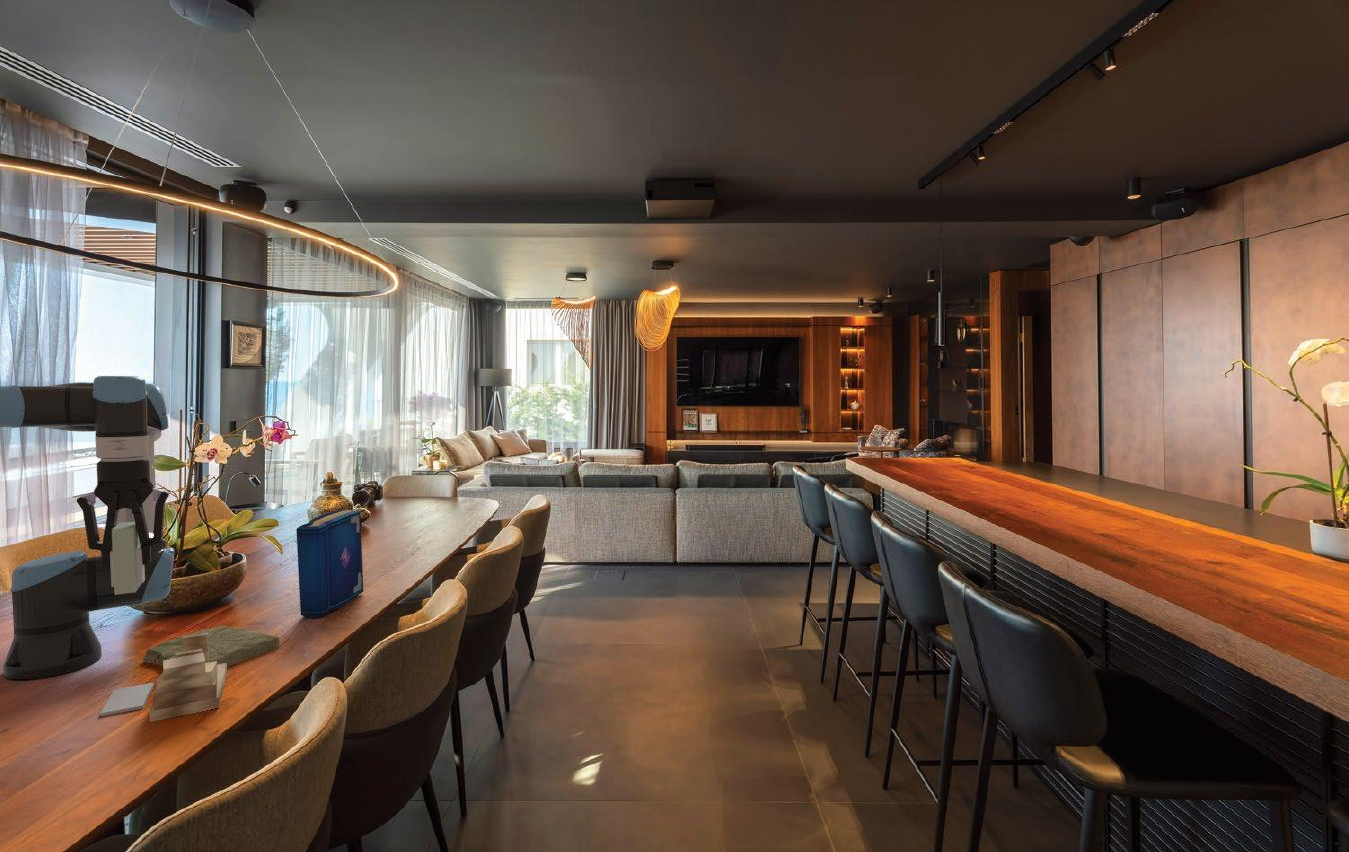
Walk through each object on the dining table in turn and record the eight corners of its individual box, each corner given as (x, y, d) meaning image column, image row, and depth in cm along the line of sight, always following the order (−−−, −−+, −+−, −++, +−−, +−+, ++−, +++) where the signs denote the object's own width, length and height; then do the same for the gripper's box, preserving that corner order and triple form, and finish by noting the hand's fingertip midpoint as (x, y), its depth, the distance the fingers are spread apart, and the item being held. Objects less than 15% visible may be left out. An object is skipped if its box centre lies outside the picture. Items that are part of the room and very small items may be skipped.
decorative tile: (222, 636, 157) (222, 622, 157) (281, 648, 149) (280, 633, 149) (134, 666, 140) (133, 650, 139) (195, 681, 132) (194, 664, 132)
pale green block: (114, 594, 119) (111, 529, 118) (121, 584, 125) (119, 522, 124) (135, 592, 120) (133, 527, 120) (142, 582, 126) (139, 521, 126)
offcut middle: (157, 693, 116) (157, 679, 116) (165, 682, 120) (165, 668, 120) (212, 684, 119) (211, 671, 119) (217, 674, 124) (217, 661, 124)
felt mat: (100, 716, 117) (100, 713, 117) (114, 692, 126) (114, 689, 126) (143, 708, 120) (143, 705, 120) (153, 685, 129) (153, 682, 129)
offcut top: (163, 680, 115) (163, 669, 115) (163, 671, 119) (163, 660, 119) (205, 671, 119) (205, 660, 119) (203, 662, 123) (203, 652, 123)
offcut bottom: (153, 710, 115) (153, 696, 115) (157, 697, 120) (157, 684, 120) (216, 697, 120) (215, 684, 120) (217, 685, 125) (216, 672, 125)
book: (322, 620, 167) (319, 523, 165) (295, 620, 167) (292, 523, 165) (364, 594, 188) (362, 508, 187) (340, 594, 188) (338, 508, 187)
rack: (149, 722, 115) (147, 671, 114) (166, 683, 130) (164, 638, 130) (218, 708, 120) (217, 660, 119) (227, 672, 135) (225, 629, 135)
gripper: (59, 463, 114) (65, 595, 115) (174, 458, 122) (179, 581, 123) (70, 459, 120) (76, 584, 121) (179, 455, 129) (184, 572, 130)
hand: (128, 582), depth 122 cm, fingers closed on pale green block, 3 cm apart
